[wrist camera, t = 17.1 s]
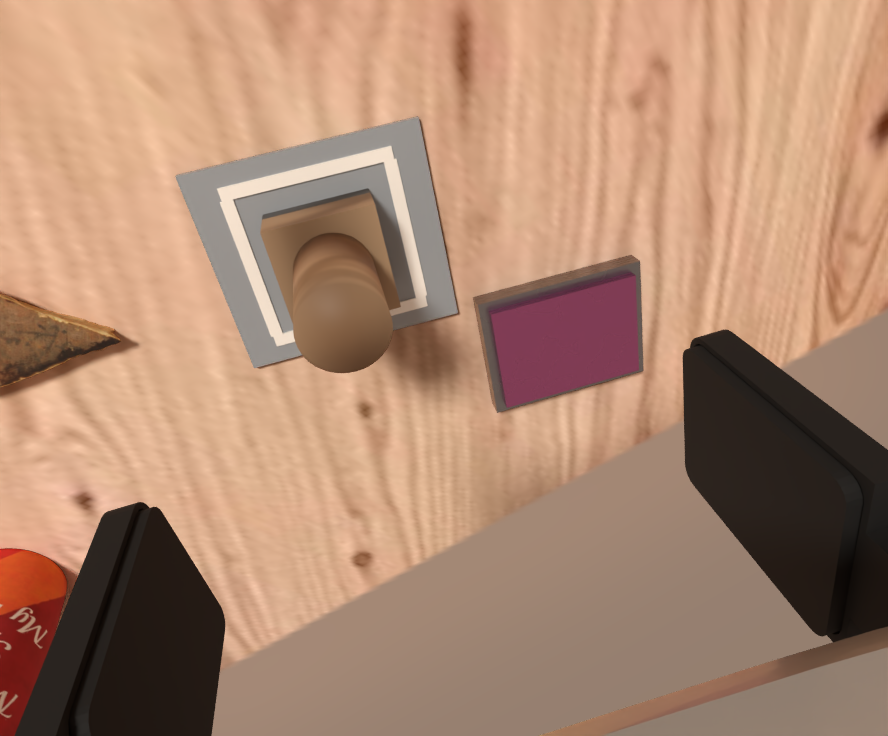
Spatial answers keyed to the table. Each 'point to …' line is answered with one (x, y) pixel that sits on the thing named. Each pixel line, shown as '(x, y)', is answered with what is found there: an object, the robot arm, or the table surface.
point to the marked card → (308, 180)
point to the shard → (43, 339)
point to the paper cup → (25, 627)
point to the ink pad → (562, 332)
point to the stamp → (334, 279)
